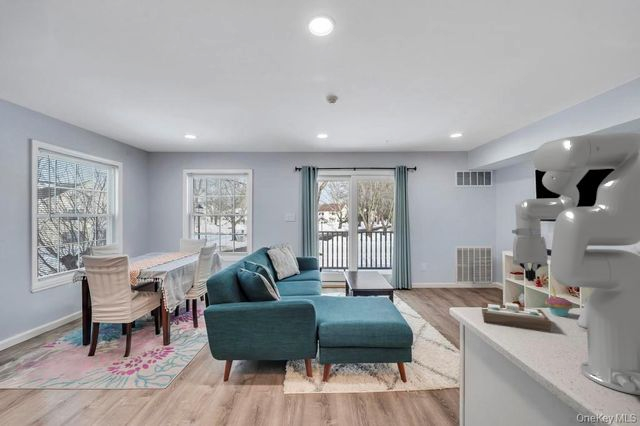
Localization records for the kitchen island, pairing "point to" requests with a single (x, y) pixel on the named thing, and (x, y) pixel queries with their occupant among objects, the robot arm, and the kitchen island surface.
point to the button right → (531, 310)
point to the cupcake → (558, 305)
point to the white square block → (493, 306)
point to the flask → (583, 316)
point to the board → (516, 318)
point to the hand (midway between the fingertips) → (530, 280)
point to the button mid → (511, 306)
